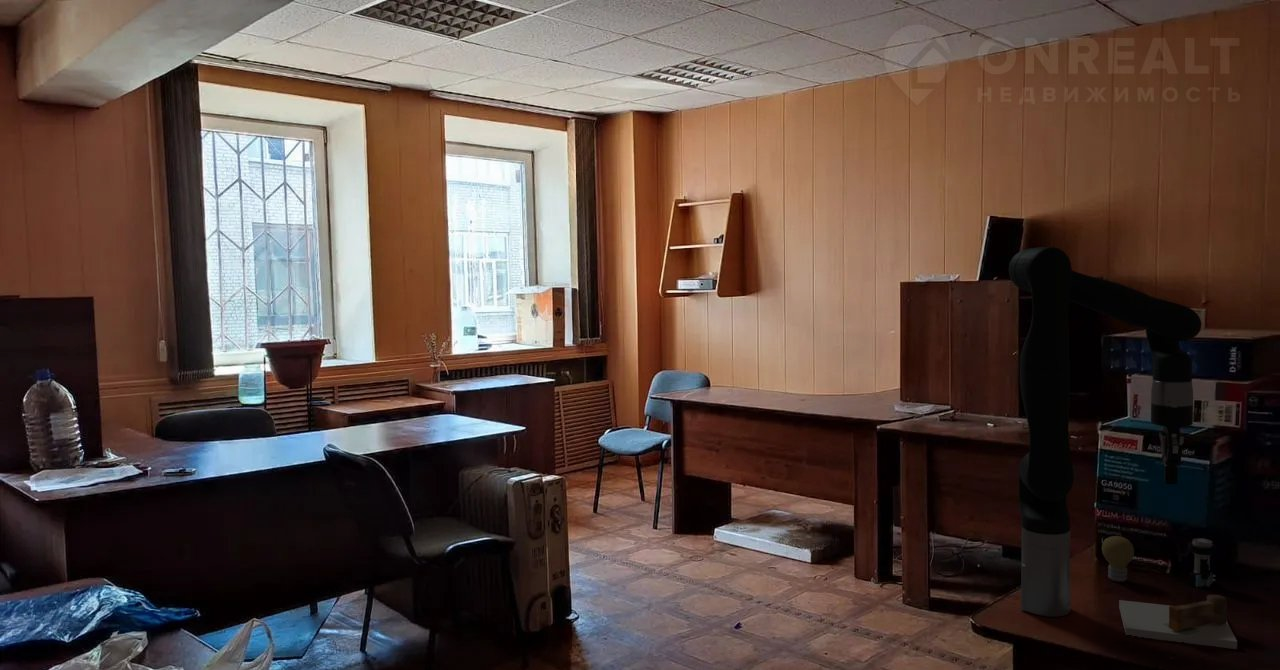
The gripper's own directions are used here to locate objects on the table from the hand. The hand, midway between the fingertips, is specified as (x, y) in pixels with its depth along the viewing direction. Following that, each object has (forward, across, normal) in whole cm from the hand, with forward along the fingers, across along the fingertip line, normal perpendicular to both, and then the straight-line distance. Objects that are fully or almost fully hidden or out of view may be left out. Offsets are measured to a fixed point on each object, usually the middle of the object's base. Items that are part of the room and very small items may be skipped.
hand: (1170, 483), depth 183 cm
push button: (+25, -12, +8) cm, 29 cm away
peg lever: (+23, +18, +3) cm, 29 cm away
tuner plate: (+25, +16, -1) cm, 29 cm away
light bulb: (+25, -9, -9) cm, 28 cm away
